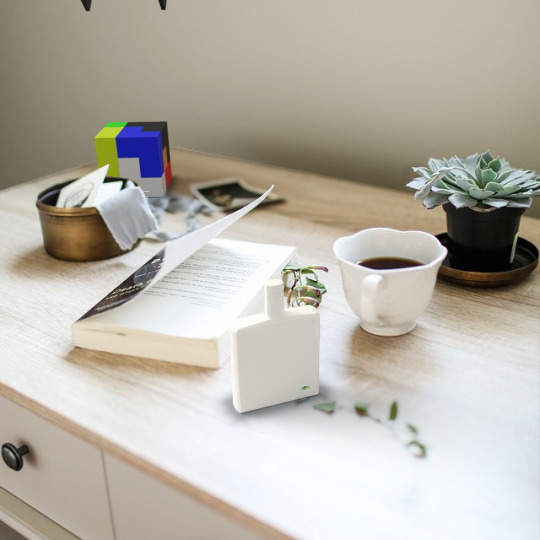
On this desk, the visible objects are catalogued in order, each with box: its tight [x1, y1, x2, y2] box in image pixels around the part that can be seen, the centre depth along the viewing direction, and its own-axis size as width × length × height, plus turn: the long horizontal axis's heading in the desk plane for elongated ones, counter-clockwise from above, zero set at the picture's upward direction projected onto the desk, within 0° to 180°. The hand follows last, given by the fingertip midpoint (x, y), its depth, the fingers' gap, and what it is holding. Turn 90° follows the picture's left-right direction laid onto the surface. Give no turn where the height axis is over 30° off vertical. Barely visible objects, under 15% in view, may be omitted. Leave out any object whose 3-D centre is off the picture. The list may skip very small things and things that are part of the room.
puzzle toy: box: [94, 120, 173, 198], centre depth 112 cm, size 10×10×10 cm
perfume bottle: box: [228, 278, 321, 414], centre depth 59 cm, size 8×2×12 cm, turn 110°
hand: (123, 5), depth 117 cm, fingers open, 13 cm apart
